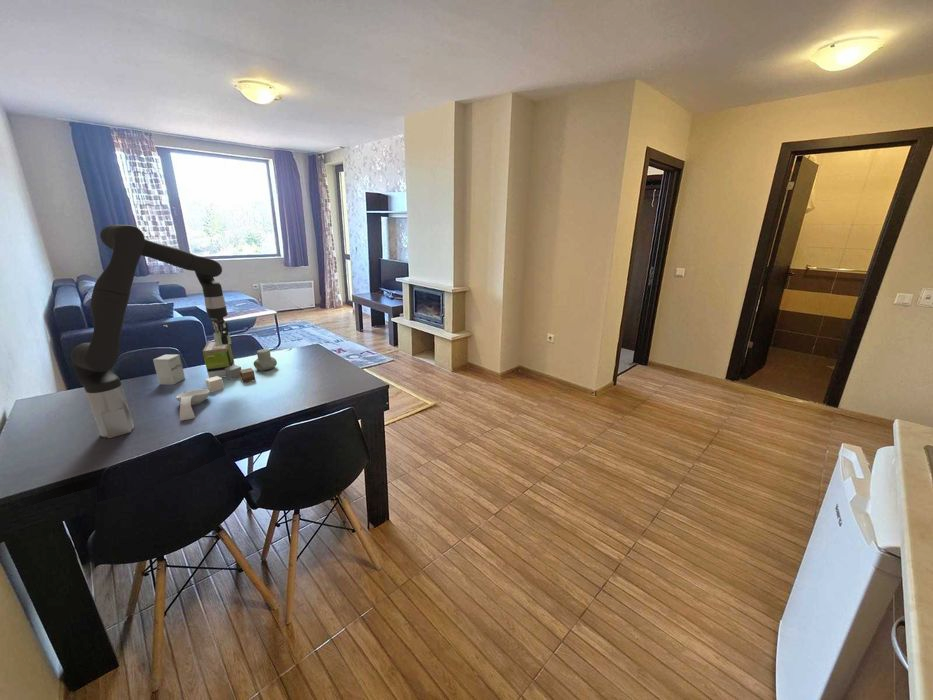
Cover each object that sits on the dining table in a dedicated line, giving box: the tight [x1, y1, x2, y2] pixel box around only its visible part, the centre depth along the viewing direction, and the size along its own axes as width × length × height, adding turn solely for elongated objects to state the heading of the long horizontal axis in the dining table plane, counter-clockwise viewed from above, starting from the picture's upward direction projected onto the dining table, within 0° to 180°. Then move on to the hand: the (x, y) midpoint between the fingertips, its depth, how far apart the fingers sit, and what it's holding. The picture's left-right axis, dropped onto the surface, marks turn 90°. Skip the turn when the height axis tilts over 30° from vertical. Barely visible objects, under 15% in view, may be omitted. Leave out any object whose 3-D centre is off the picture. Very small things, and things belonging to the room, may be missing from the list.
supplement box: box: [152, 354, 186, 386], centre depth 178 cm, size 7×7×13 cm
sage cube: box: [213, 331, 232, 346], centre depth 171 cm, size 5×5×5 cm
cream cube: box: [204, 376, 224, 393], centre depth 172 cm, size 5×5×5 cm
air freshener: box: [253, 348, 278, 371], centre depth 195 cm, size 11×8×10 cm
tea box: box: [202, 341, 236, 378], centre depth 189 cm, size 15×10×15 cm
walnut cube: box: [239, 367, 256, 384], centre depth 182 cm, size 5×5×5 cm
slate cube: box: [225, 364, 242, 380], centre depth 186 cm, size 5×5×5 cm
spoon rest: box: [175, 388, 211, 421], centre depth 154 cm, size 24×12×7 cm, turn 28°
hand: (223, 342), depth 172 cm, fingers closed on sage cube, 5 cm apart
